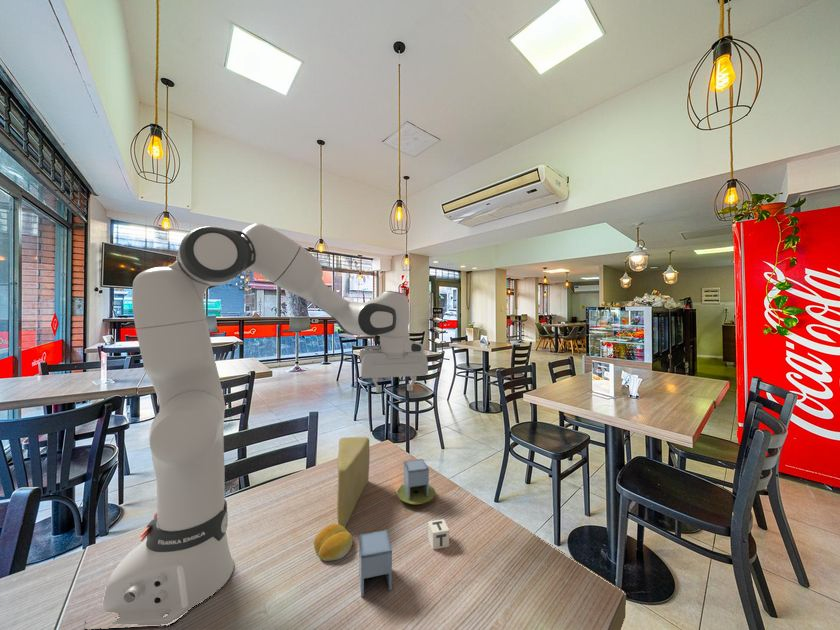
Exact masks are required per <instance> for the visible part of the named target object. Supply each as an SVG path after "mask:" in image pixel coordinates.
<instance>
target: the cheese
mask: <svg viewBox="0 0 840 630" xmlns="http://www.w3.org/2000/svg"><path fill="white" fill-rule="evenodd" d="M337 452H338V453H337V493H336V495H337V497H336V513H337V514H336V515H337V517H336V518H337V524H339V525H341V526H343V527H344V528H345V529H346V526H347V524H348V522H349V520H350V517H351V516H352V513H353V511H354V509H355V506H356V504H357V502H358V500H359V498H360V497H361V494H362V492H363V490H364V489H365V487H366V485H368V482H369V476H370V475H369V474H370V454H371V453H370V439H369V437H366V436H365V437H364V436H362V437H360V436H358V437H357V436H355V437H354V436H353V437H349V436H347V437H341V438H339V440H338V451H337Z"/></svg>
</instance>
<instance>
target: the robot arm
mask: <svg viewBox="0 0 840 630" xmlns="http://www.w3.org/2000/svg"><path fill="white" fill-rule="evenodd" d="M247 271H248V272H252V273H255V274H258V275H260V276H262V277H263V278H264V279H266V280H268V281H269V282H270V283H273V284H274V285H276V286H277V287H279V288H281V289H283V290H285V291H286V292H289V293H291V294H293V295H295V296H298V297H300V298H301V299H305V300H306V301H309V302H310V303H311V304H313V305H314V306H316V307H317V308H318V309H321V310H322V311H323V312H324V313H326V314H327V315H329V316H330V318H332V319H333V320H334V321H335V322H336V323H337V325H338V327H339V328H340V330H341V331H342V332H344V333H345V334H347V335H350V336H358V335H359V336H366V337H375V336H379V345H374V346H369V345H368V346H367V345H366V346H364V347H363V348H361V349H360V351H359V360H360V361H361V364H360V376H361V377H362V379H371V380H372V382H373V384H374V386H375V393H377V394H379V393H380V394H381V393H382V389H383V388H382V387H383V386H382V385H379V384H378V381H379V379H380V378H381V379H382V378H398V377H399V378H400V377H409V378H410V379H411V380H410V381H409V383H407V384H406V391H408V392H411V391H412V392H413V390H414V384H415V383H416V381H417V377H421V376H422V377H423V376H426V375H427V374H428V372H429V365H428V364H429V363H428V357H427V354H426V353H425V347H426V346H425V345H424V344H422V343H420V342H416V341H415V340H410V332H409V324H410V317H411V315H410V314H411V313H410V303H409V299H408V297H407V295H405V294H404V293H402V292H398V291H392V290H385V291H383V292H382V293H381V294H380V295H378V296H377V297H375V298H373V299H371V300H368V301H366V302H356V301H350V300H347V299H345V298H343V297H342V296H341V295H340V294H338V293H336V291H334V290H333V289H332V288H330V287H329V286H327V285H326V283H325V282H324V280H323V276H324V273H323V267H322V263H321V262H320V261H319V260H318V258H316V257H315V256H314V255H313V254H312V253H311V252H310V251H308V250H307V249H306V248H304V247H303V246H302V245H300V244H299V243H297V242H296V241H295V240H293V239H292V238H290V237H288V236H287V235H285V234H284V233H281V232H280V231H278V230H277V229H274V228H272V227H271V226H268V225H266V224H264V223H263V224H262V223H253V224H251V225H248V226H247V227H245V228H244V229H242V230H241V231H240V230H235V229H228V228H224V227H218V226H208V225H207V226H201V227H198V228H195V229H192V230H191V231H189V232H188V233H187V234H185V236H184V237H183V238H182V241H181V243H180V245H179V248H178V250H177V254H176V258H175V261H174V262H173V263H172V264H170V265H167V266H156V267H151V268H147V269H145V270H143V271H142V272H139V273H138V274H137V275H136V276H135V278H134V279H133V280H132V281H133V282H132V291H131V294H132V295H131V296H132V297H131V300H132V315H133V322H134V326H135V327H134V328H135V332H136V337H137V341H138V345H139V351H140V354H141V359H142V364H143V369H144V371H145V373H146V375H147V376H148V378H149V379H150V382H151V384H152V387H153V389H154V391H155V394H156V396H157V401H158V405H159V411H158V412H157V414H156V415H155V417H154V418H153V420H152V422H151V424H150V427H149V436H148V437H149V438H148V439H149V447H150V451H151V452H150V453H151V459H152V467H153V470H154V475H155V481H156V495H157V496H156V510H157V512H156V513H155V514H154V516H153V519H152V520H151V521H150V522H149V523H148V524H147V525H146V528H145V530H144V531H143V532H142V534H141V535H140V537H141V538H140V543H139V544H138V545H136V546H135V547H134V548H133V549H132V550H130V551H129V552H128V553H127V554H126V556H124V558H122V560H121V561H120V562H119V563H118V564H117V566H116V567H115V568H114V570H113V571H112V573H111V574H110V576H109V578H108V581H107V582H106V586H105V588H104V589H105V593H104V598H103V604H102V610H103V611H107V612H115V613H118V615H119V616H118V617H120V618H119V619H117V621H115V622H111V623H112V624H138V625H161V624H168V623H170V622H172V621H173V620H175V619H177V618H179V617H180V616H181V615H183V614H184V613H185V612H186V611H188V610H189V609H190V608H192V607H193V606H195V605H197V604H199V603H200V602H201V601H204V600H205V599H206V598H208V597H209V596H211V595H212V594H213V593H215V592H216V591H217V590H218V589H219V590H220V589H222V588H221V587H224V585H225V584H227V582H228V580H229V579H230V577H231V576H232V574H233V572H234V568H235V563H234V560H233V558H232V555H231V552H230V548H229V542H228V537H227V529H228V524H229V523H228V522H229V513H228V502H227V500H226V499H225V495H226V492H225V491H226V490H225V489H226V488H225V486H226V485H225V479H226V478H225V475H226V474H225V472H226V471H225V448H224V447H225V445H224V444H225V443H224V442H225V439H224V435H225V434H224V422H225V411H226V410H225V409H226V402H225V396H224V392H223V389H222V388H223V387H222V384H221V379H220V375H219V372H218V367H217V363H216V360H215V356H214V355H215V354H214V351H213V346H212V340H211V335H210V330H209V325H208V320H207V313H206V310H205V304H204V300H205V299H204V297H205V293H206V291H207V290H209V289H213V288H215V287H219V286H221V285H225V284H227V283H229V282H231V281H232V280H234V279H235V278H236V277H237V276H238V277H239V275H240V274H242V273H243V272H247ZM145 538H146V539H145ZM219 590H218V591H219ZM218 591H217V592H218ZM217 592H216V593H217ZM216 593H215V594H216ZM212 596H213V595H212ZM212 596H211V597H212ZM208 599H209V598H208ZM205 601H206V600H205ZM205 601H204V602H205ZM200 604H201V603H200ZM200 604H199V605H200ZM197 606H198V605H197ZM195 607H196V606H195ZM192 609H193V608H192ZM188 612H189V611H188ZM165 614H168V616H166V617H164V618H163V616H164V615H165ZM115 618H117V617H115Z"/></svg>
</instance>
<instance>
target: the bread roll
mask: <svg viewBox="0 0 840 630" xmlns="http://www.w3.org/2000/svg"><path fill="white" fill-rule="evenodd" d="M352 545H353V536H352V534H351V532H349V531H348V530H347V529H346V527H345V528H344V527H343V526H341V525H339V524H338V523H333V524H332V523H331V524H329V525H327V526H325V527H324V528H322V529H321V530H320V531H319V532H318V533H317V534H316V536H315V538H314V540H313V548H314V551H316V553H317V555H318V556H319V558H320V559H321V560H322V561H324V562H328V561H329V562H331V561H339V560H340V559H343V558H344V557H346V555H347V554H348V553H349V552H350V550H351V549H352Z"/></svg>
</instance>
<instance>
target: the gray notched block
mask: <svg viewBox="0 0 840 630" xmlns="http://www.w3.org/2000/svg"><path fill="white" fill-rule="evenodd" d="M358 540H359V541H358V545H359V546H358V547H359V548H358V551H359V552H358V554H359V555H358V574H359V575H358V576H359V589H360V597H361V598H363V597H364V595H365V581H364V580H365V579H369V578H374V577H378V576H384V575H386V580H387V587H388V590H389V591H392V590H393V585H392V584H393V579H392V578H393V547H392V544H391V540H390V535H389V531H388V529H384V530H378V531H377V530H376V531H371V532H367V533H366V532H365V533H361V534H359V537H358Z"/></svg>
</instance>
